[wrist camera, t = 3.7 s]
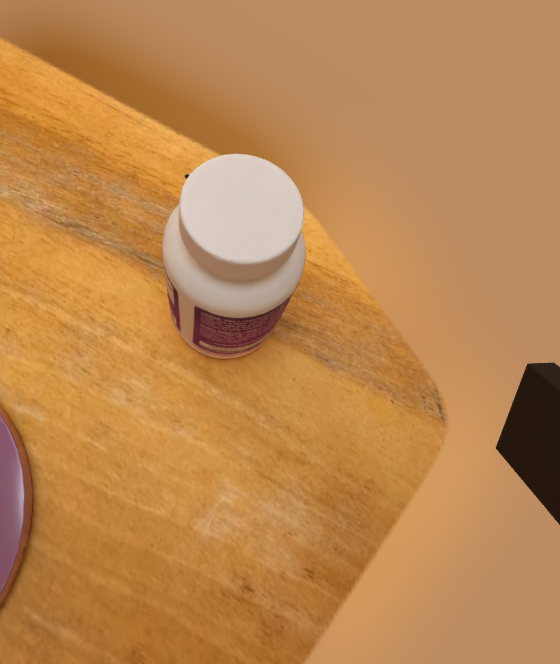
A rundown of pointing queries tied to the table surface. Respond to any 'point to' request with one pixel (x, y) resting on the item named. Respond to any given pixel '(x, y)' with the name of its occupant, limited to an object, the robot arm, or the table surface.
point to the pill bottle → (233, 254)
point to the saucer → (13, 503)
